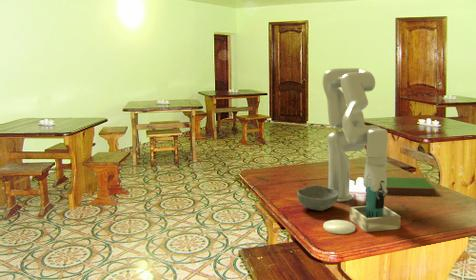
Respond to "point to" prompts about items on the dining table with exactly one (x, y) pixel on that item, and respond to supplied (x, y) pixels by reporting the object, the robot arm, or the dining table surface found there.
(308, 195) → the bowl
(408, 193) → the hardcover book
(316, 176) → the dining table surface
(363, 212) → the wooden frame
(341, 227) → the plate
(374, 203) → the beverage bottle
